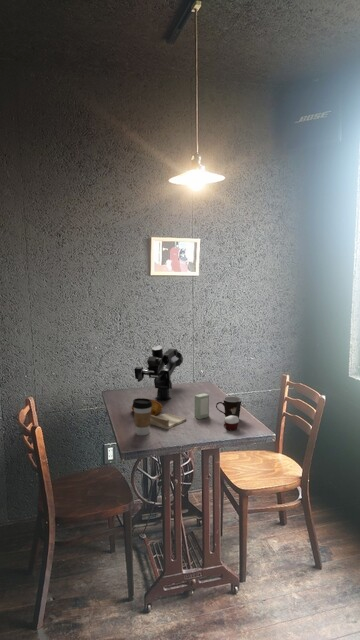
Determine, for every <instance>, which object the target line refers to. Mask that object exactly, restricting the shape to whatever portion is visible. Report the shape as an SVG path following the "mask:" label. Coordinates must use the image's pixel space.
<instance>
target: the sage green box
mask: <svg viewBox="0 0 360 640" xmlns="http://www.w3.org/2000/svg"><path fill="white" fill-rule="evenodd" d="M194 418H196V419H198V420H201V419H205V418H210V394H207V393H205V392H204V393H200V394H195V395H194Z"/></svg>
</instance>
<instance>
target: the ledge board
mask: <svg viewBox="0 0 360 640" xmlns="http://www.w3.org/2000/svg"><path fill="white" fill-rule="evenodd" d="M185 422H187V418H185V417H183V416H178V415H174V414H171V413H167V412H165V413H163V414H160V415H159V414H158V415H155V416H154V415H151V420H150V425H153V426H154V427H155V426H156V427H159V428H162V429H165V430H169V429H171V428H173V427H175V426H178V425H180V424H182V423H185Z"/></svg>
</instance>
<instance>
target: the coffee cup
mask: <svg viewBox="0 0 360 640" xmlns="http://www.w3.org/2000/svg"><path fill="white" fill-rule="evenodd" d="M144 398H145V397H143V398H140V397H138V398H134V399H133V401H132V405H133V407H134V411H133V416H134V418H133V419H134V424H135V434H136V435H138V436H147V435H150V432H151V429H150V428H151V424H150V420H151V407H152V402H151V400H152V399H151V398H146V399H144ZM150 399H151V400H150Z"/></svg>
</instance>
